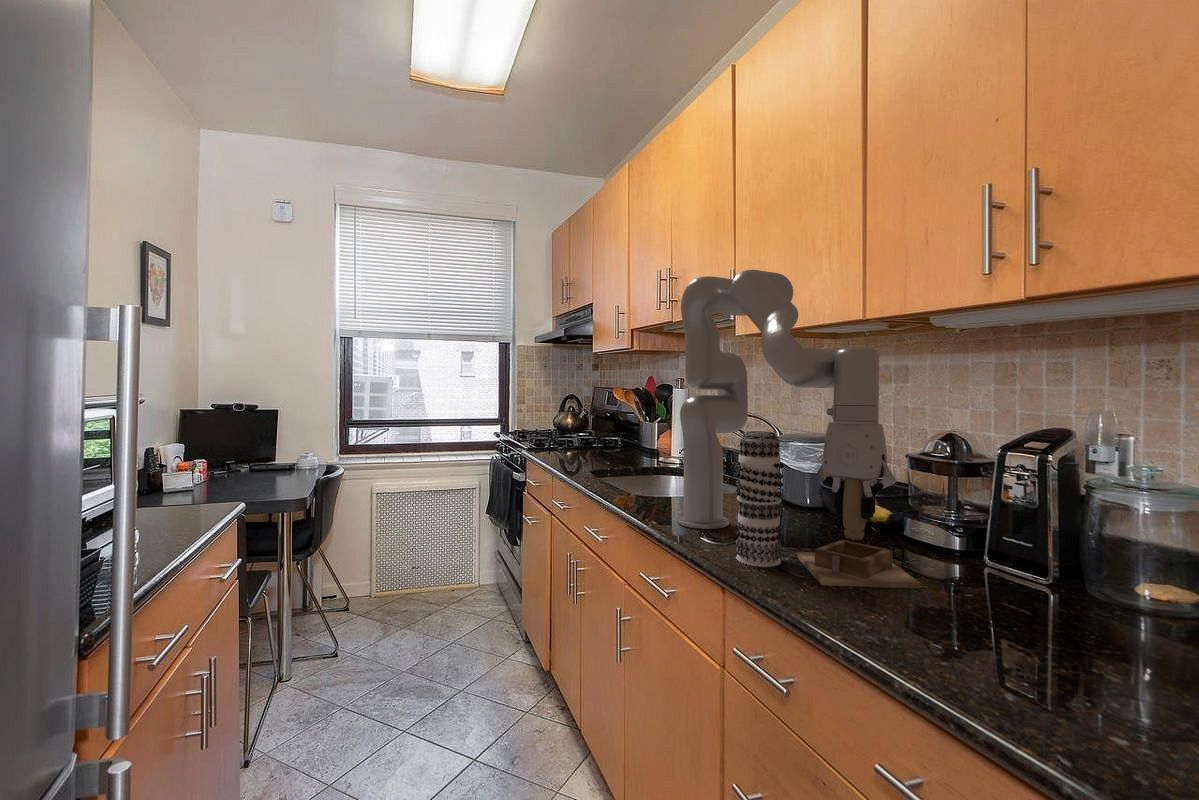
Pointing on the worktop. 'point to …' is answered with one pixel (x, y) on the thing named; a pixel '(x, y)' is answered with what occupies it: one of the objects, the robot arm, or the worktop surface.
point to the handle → (853, 509)
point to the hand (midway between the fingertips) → (854, 514)
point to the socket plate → (849, 580)
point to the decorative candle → (759, 499)
